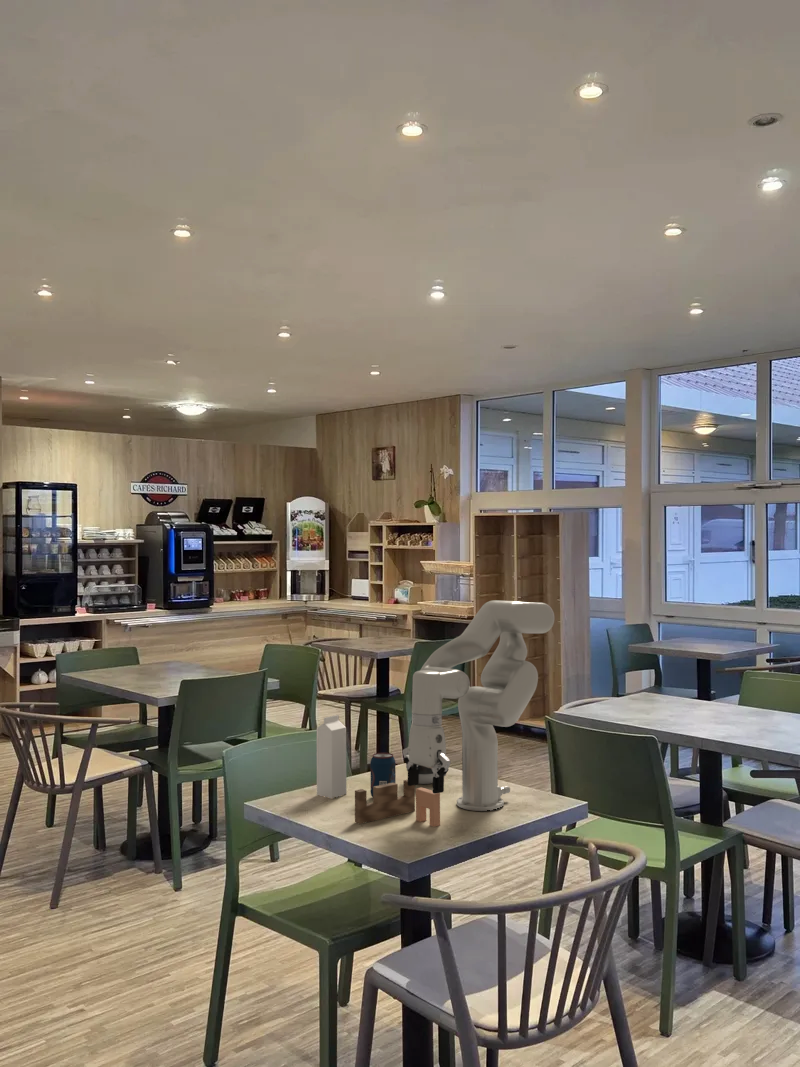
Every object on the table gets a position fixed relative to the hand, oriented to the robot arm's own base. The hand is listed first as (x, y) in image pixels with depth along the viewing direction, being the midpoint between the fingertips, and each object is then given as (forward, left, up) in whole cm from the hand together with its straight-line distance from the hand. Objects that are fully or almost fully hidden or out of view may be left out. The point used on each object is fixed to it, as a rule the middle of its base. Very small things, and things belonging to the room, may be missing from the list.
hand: (425, 788), depth 229 cm
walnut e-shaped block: (+4, -11, -9) cm, 15 cm away
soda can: (-6, -25, -9) cm, 27 cm away
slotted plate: (-1, 0, -9) cm, 9 cm away
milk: (+3, -37, -9) cm, 38 cm away
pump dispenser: (-26, -31, -9) cm, 41 cm away
